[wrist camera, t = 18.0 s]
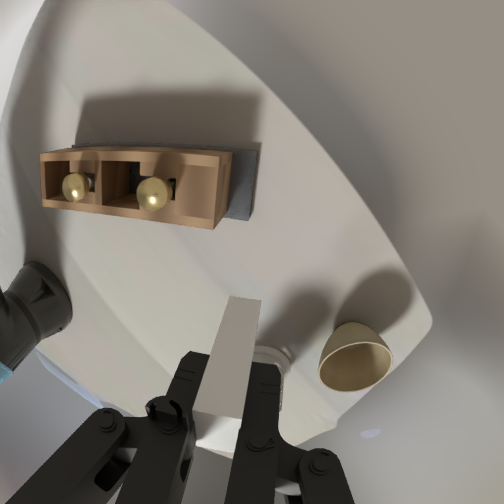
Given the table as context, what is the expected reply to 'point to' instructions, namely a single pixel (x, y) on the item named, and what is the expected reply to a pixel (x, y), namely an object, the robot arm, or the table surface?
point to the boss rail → (173, 180)
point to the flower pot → (354, 359)
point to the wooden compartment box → (151, 164)
